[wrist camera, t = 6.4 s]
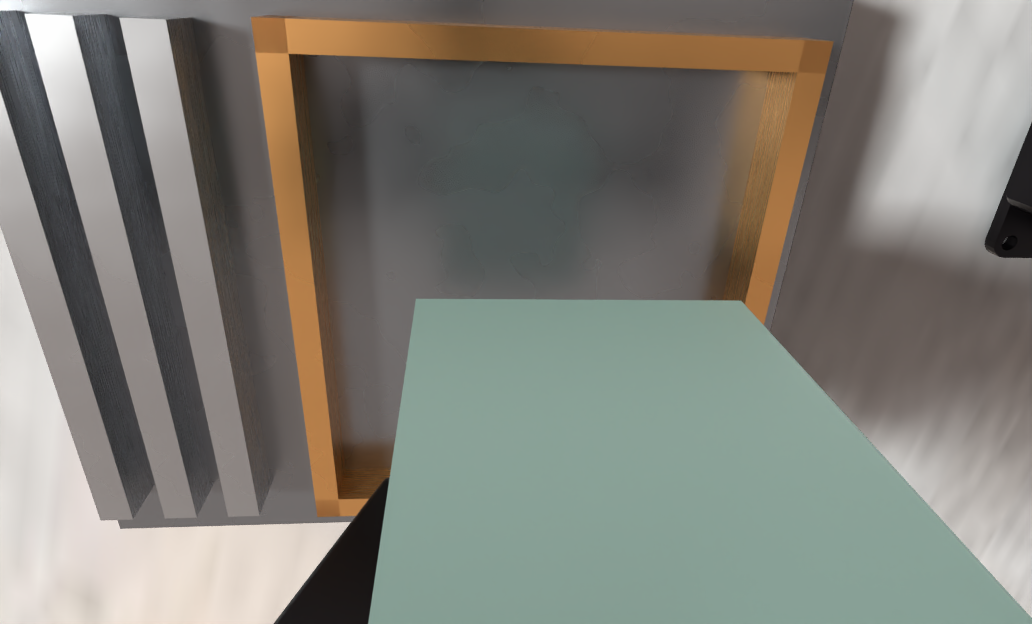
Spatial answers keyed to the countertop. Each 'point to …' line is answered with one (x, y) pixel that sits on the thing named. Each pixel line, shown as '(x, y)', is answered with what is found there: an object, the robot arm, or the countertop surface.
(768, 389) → the mint green box
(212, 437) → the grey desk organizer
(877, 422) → the countertop surface
